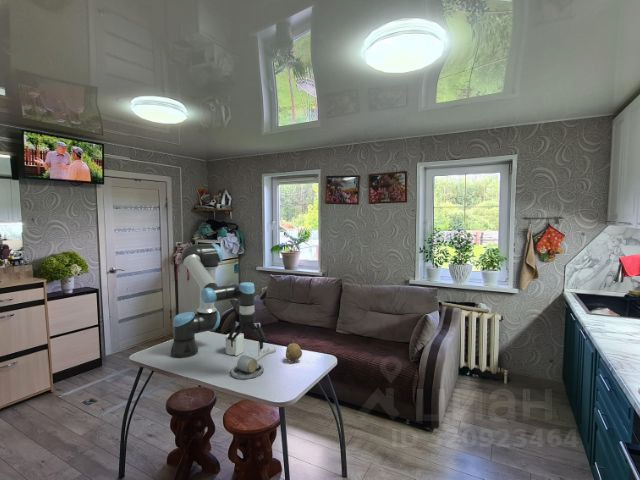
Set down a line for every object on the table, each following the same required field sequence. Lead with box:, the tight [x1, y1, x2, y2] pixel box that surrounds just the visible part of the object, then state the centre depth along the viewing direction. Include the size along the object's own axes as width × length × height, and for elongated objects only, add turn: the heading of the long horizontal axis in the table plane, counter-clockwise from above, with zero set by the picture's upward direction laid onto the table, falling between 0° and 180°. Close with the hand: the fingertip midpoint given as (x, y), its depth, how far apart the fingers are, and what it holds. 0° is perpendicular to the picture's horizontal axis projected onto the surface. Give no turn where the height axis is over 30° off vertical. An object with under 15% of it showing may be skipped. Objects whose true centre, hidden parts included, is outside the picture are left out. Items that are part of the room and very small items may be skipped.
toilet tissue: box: [225, 332, 245, 357], centre depth 200 cm, size 11×12×10 cm
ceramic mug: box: [236, 354, 259, 373], centre depth 172 cm, size 11×8×8 cm
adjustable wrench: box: [253, 347, 277, 362], centre depth 192 cm, size 25×6×2 cm, turn 152°
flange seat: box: [230, 362, 265, 380], centre depth 171 cm, size 16×16×2 cm
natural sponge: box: [285, 342, 303, 362], centre depth 186 cm, size 9×9×10 cm
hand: (247, 354), depth 171 cm, fingers open, 13 cm apart
